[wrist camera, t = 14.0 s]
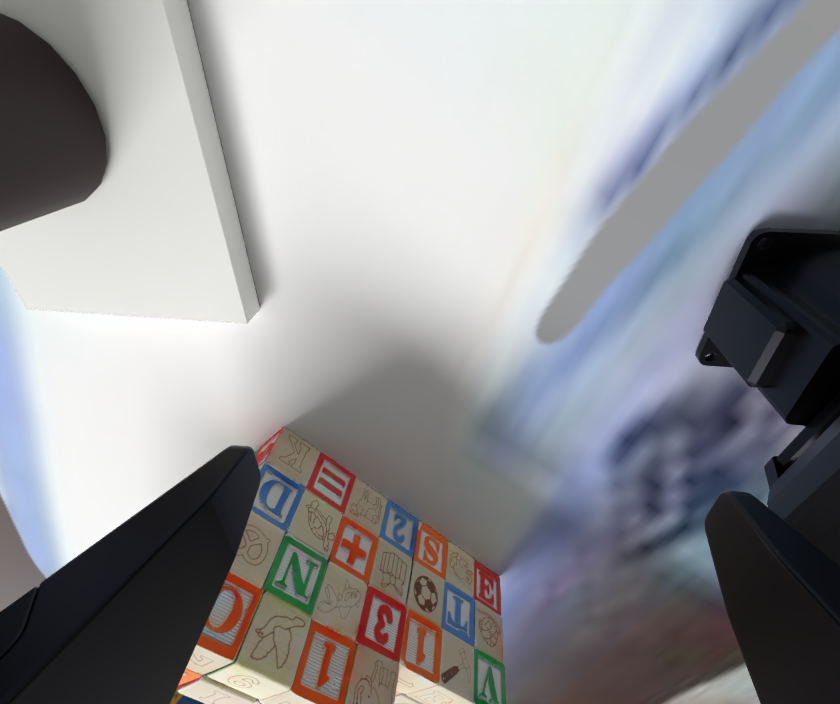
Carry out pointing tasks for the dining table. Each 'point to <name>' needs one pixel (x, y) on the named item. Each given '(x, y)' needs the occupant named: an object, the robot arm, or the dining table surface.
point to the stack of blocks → (345, 600)
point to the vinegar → (43, 130)
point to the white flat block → (136, 176)
